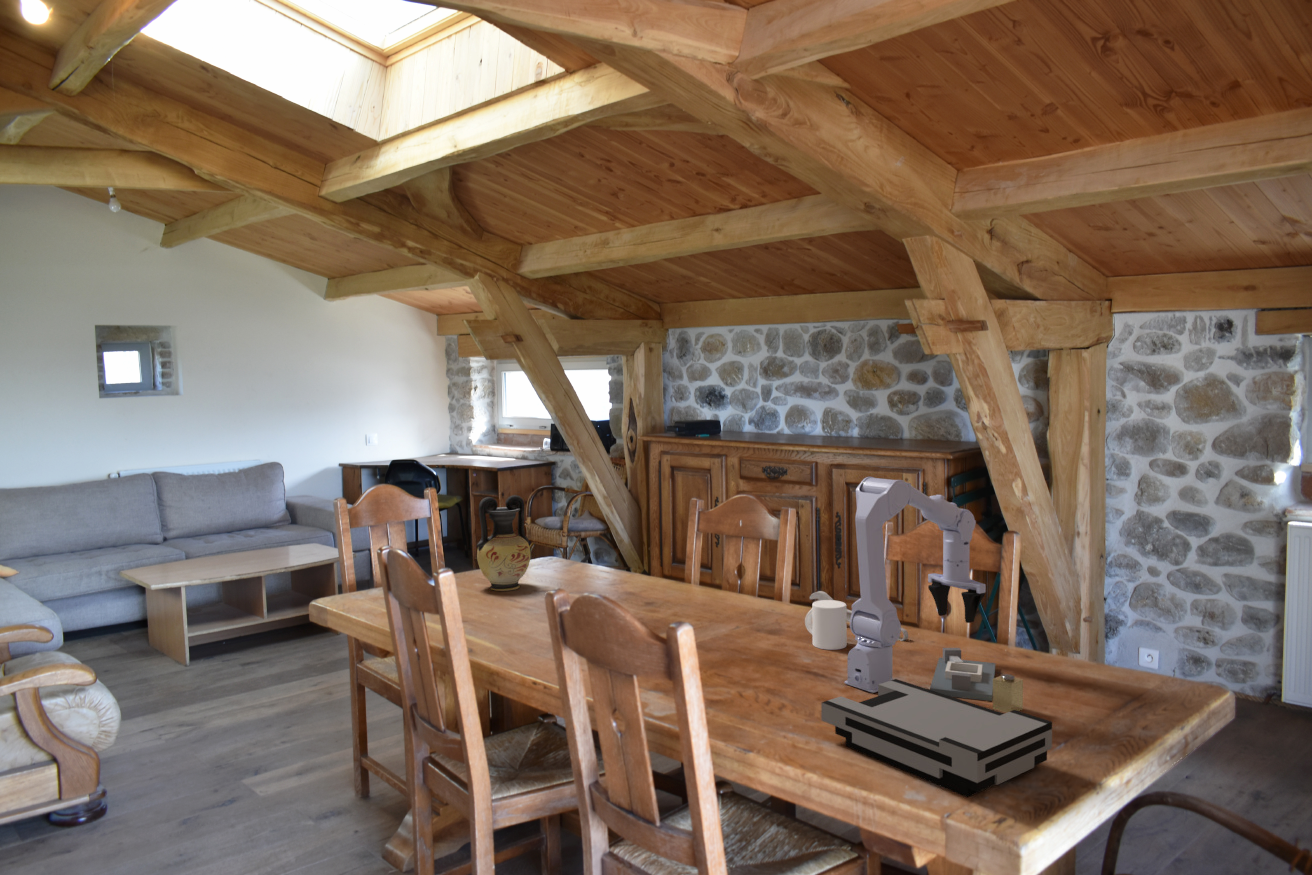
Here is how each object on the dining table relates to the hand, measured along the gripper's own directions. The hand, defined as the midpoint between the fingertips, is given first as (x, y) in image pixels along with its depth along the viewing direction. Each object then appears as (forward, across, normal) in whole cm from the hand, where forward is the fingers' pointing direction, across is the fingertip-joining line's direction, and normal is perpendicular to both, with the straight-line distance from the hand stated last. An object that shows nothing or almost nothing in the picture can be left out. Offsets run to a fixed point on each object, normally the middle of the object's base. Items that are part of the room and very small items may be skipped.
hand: (955, 618), depth 202 cm
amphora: (+10, +133, +56) cm, 144 cm away
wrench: (+10, +32, -1) cm, 34 cm away
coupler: (+10, -26, +16) cm, 32 cm away
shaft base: (+10, -10, +10) cm, 17 cm away
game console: (+11, -31, +45) cm, 56 cm away
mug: (+10, +28, +15) cm, 33 cm away
